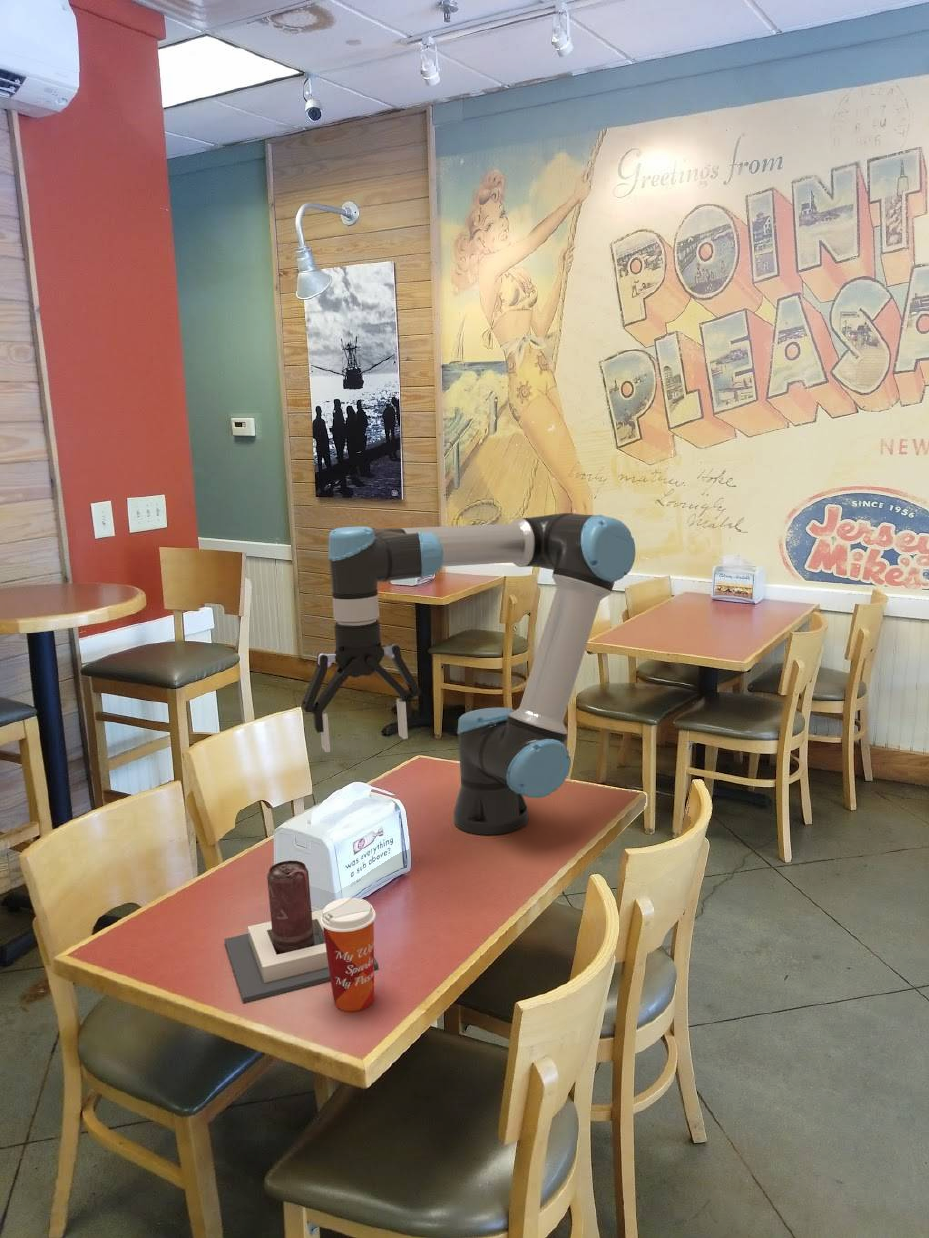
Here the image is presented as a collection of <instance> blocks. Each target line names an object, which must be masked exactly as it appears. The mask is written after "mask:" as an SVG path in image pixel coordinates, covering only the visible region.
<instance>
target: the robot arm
mask: <svg viewBox="0 0 929 1238" xmlns="http://www.w3.org/2000/svg"><path fill="white" fill-rule="evenodd" d="M327 557H328V558H327V559H328V561H329V562H328V563H329V571H330V581H331V583H330V584H331V595H332V611H333V620H334V621H336V623H335V624H334V638H335V639H334V641H335V651H334V653H324V652H318V654H317V657H316V667H315V669H314V671H313V675H312V677H311V679H310V683H309V685H308V687H307V690H306V693H304V694H305V695H304V697H303V699H302V702H301V705H300V706H301V709H303V711H305V713H311V714H312V715H313V725H314V726H313V727H314V730H315V732H316V733H320V739H321V749H322V750H323V751H324V752H325V753H331V743H330V741H331V740H330V731H329V728H330V727H329V718H328V715H329V714H328V713H327V712H326V711H325V709H326V708H327V706H328V705H329V704H330V703H331V701H332V699H333V698H334V696H335V695H336V694H337V692H338V690H339V689H340V688H341V687H342V685H343V684H344V682H346V681H347V680H348V678H349V677H352V678H359V677H361V676H365V677H366V676H367V677H368V676H372V674H373V673H376V674H377V675H378V676H379V677H380V678H381V679H382V680H383V681H384V682H385V683H387V684H388V686H390V687H391V689H393V691H395V692H396V693H397V694H398V696H400V698H396V712H397V725H398V726H397V728H398V736H399V737H400V738H401V739H402V740H408V739H409V738H408V737H409V736H408V721H407V720H408V719H411V718H412V713H413V712H412V701H413V700H414V698H415V697H418V696H421V694H422V690H421V688H420V686H419V685H418V683H417V681H416V679H415V678H414V677H413V675H412V673H411V671H410V670H409V667H408V666H407V665H406V663H405V661H404V660H403V658H402V653H401V647H400V646H399V645H397V644H395V643H393V642H391V643H390V644H389V645H387V646H382V638H381V637H382V636H381V625H380V623H381V622H379V620H377V619H378V618H379V617H380V608H379V595H378V594H379V591H378V583H385V582H390V581H398V580H399V581H400V580H407V579H409V580H410V579H417V578H420V579H423V578H425V577H429V576H433V575H434V576H435V575H436V574H438V573H439V572H440V571H441V568H442V567H456V566H457V567H459V566H472V565H473V566H475V565H491V564H492V565H493V564H509V563H511V564H512V563H513V564H514V566H516V567H520V568H526V567H527V568H528V567H534V568H540V569H541V568H542V569H547V570H552V575H551V577H552V579H553V582H554V583H555V585H556V588H555V593H554V594H553V598H552V601H551V604H550V608H549V612H548V614H547V618H546V622H545V624H544V628H543V630H542V633H541V637H540V640H539V643H538V646H537V650H536V653H535V655H534V656H535V657H534V660H533V663H532V666H531V669H530V672H529V675H528V678H527V682H526V686H525V689H524V692H523V696H522V698H521V700H520V701H521V702H520V704H519V707H518V708H517V709H512V708H509V707H499V706H498V707H488V708H487V707H486V708H480V709H479V708H478V709H475V710H470V711H467V712H465V713H463V714H461V716H460V717H459V718H458V720H457V721H458V723H457V724H458V725H457V731H456V733H457V735H458V736H457V737H458V738H457V739H458V753H459V756H458V757H459V771H460V772H459V774H460V788H459V791H458V794H457V798H456V802H455V805H454V809H453V822H454V825H455V827H457V828H458V829H459V830H461V831H464V832H467V833H469V834H474V835H484V836H485V835H486V836H487V835H489V836H490V835H491V836H492V835H494V836H495V835H501V834H502V835H503V834H509V833H512V832H514V831H517V830H520V829H521V828H523V827H524V826H526V825H527V823H528V821H529V809H528V808H529V807H528V804H527V802H526V799H525V797H528V798H531V799H541V798H545V797H548V796H550V795H551V794H552V793H553V792H556V791H557V790H559V789H560V788H561V786H563V784H564V783H565V781H566V780H567V779H568V776H569V773H570V770H571V763H572V760H571V758H572V757H571V756H570V755H569V754H570V753H569V749H567V746H566V745H565V744H566V740H567V737H568V733H569V732H568V728H566V726H565V723H564V719H565V716H566V713H567V710H568V707H569V706H568V705H569V703H570V701H571V697H572V693H573V690H574V687H575V684H576V680H577V677H578V674H579V671H580V667H581V664H582V661H583V658H584V654H585V650H586V648H587V646H588V642H589V638H590V635H591V632H592V629H593V625H594V623H595V619H596V616H597V613H598V611H599V608H600V607H599V606H600V602H601V601H602V600H603V599H604V598H606V597H608V596H610V595H612V592H613V589H614V586H615V582H617V581H619V580H622V579H624V577H625V576H627V575H628V574H629V573H630V572H631V570H632V568H633V567H634V563H635V559H636V543H635V539H634V538H633V537H632V532H631V530H630V529H629V527H628V526H627V525H626V524H625V523H624V522H622V521H621V520H620V519H617V518H615V517H610V516H605V515H602V514H596V515H595V514H582V513H573V512H572V513H571V512H569V513H568V512H562V513H560V512H559V513H553V514H548V515H540V516H531V517H520V518H519V517H518V518H515V519H514V520H512V522H510V523H495V524H492V523H491V524H474V525H473V524H472V525H471V524H469V525H452V526H451V525H446V526H424V527H423V526H422V527H421V526H420V527H400V528H375V527H369V526H345V527H343V526H342V527H337V528H335V529H333V530H331V531H330V532H329V535H328V555H327ZM385 655H386V656H387V658H389V659H391V661H392V662H393V664H394V666H395V667H396V669H397V671H398V672H399V675H400V676H401V678H402V679H403V681H404V682H405V684H406V686H407V688H408V689H405V688H404V687H403V685H401V684H400V683H399V682H398V681H397V680H396V679H395V678H394V677H393V676H392V675H391V674H390V673H389V672H388V671H387V670H386V669H385V668H384V667H383V665H381V664H380V663H381V662H382V660H383V658H384V657H385ZM334 662H335V664H336V665H338V667H337V669H336V670H335V672H334V674H333V676H332V677H331V679H330V680H329V682H328V683H327V685H326V686H325V688H324V689H323V690H322V691H321V693H320V695H319V692H320V689H321V687H322V686H323V682H324V679H325V677H326V674H327V671H328V668H330V667H331V666H332V663H334ZM318 695H319V696H318ZM524 796H525V797H524Z"/></svg>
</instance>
